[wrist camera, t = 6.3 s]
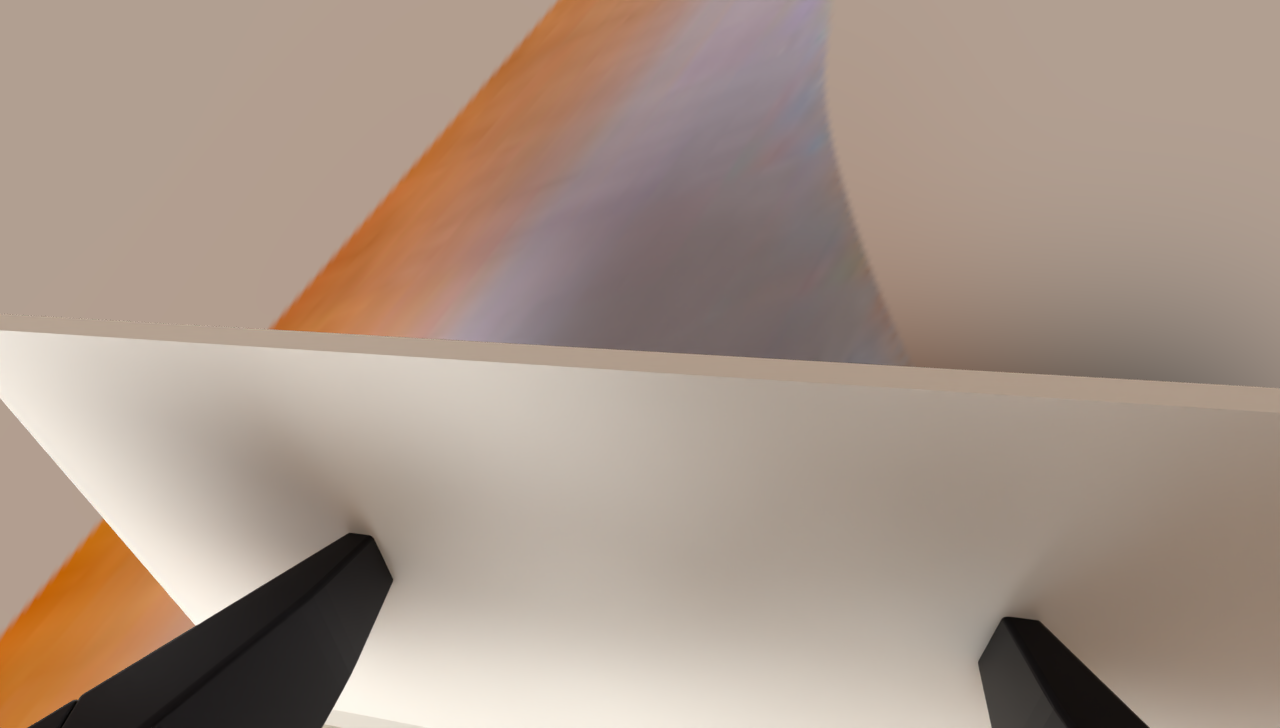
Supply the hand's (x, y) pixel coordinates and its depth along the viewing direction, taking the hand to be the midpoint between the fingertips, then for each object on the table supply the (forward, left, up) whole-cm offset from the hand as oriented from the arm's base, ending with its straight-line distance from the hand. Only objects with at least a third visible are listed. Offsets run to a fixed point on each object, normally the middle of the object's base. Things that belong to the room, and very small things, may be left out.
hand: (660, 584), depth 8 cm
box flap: (-4, +2, -5) cm, 6 cm away
